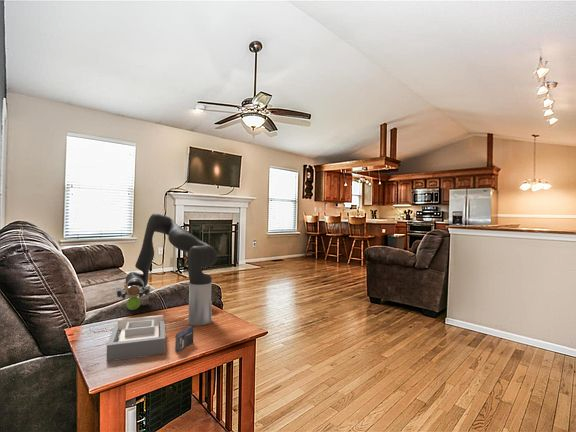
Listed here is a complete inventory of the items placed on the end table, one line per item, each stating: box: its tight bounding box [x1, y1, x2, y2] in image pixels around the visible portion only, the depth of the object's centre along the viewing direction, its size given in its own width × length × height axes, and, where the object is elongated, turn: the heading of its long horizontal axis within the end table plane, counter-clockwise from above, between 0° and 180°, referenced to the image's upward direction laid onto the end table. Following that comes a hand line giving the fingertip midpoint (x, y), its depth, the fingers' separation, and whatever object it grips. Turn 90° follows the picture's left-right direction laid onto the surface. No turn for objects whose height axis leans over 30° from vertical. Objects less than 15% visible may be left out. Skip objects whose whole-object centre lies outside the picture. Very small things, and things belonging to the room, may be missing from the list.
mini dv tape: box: [174, 325, 195, 353], centre depth 108 cm, size 8×2×6 cm, turn 163°
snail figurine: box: [123, 281, 141, 311], centre depth 131 cm, size 5×6×12 cm
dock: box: [106, 320, 166, 362], centre depth 108 cm, size 17×18×5 cm
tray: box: [117, 314, 164, 342], centre depth 118 cm, size 17×17×4 cm
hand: (132, 295), depth 129 cm, fingers closed on snail figurine, 5 cm apart
